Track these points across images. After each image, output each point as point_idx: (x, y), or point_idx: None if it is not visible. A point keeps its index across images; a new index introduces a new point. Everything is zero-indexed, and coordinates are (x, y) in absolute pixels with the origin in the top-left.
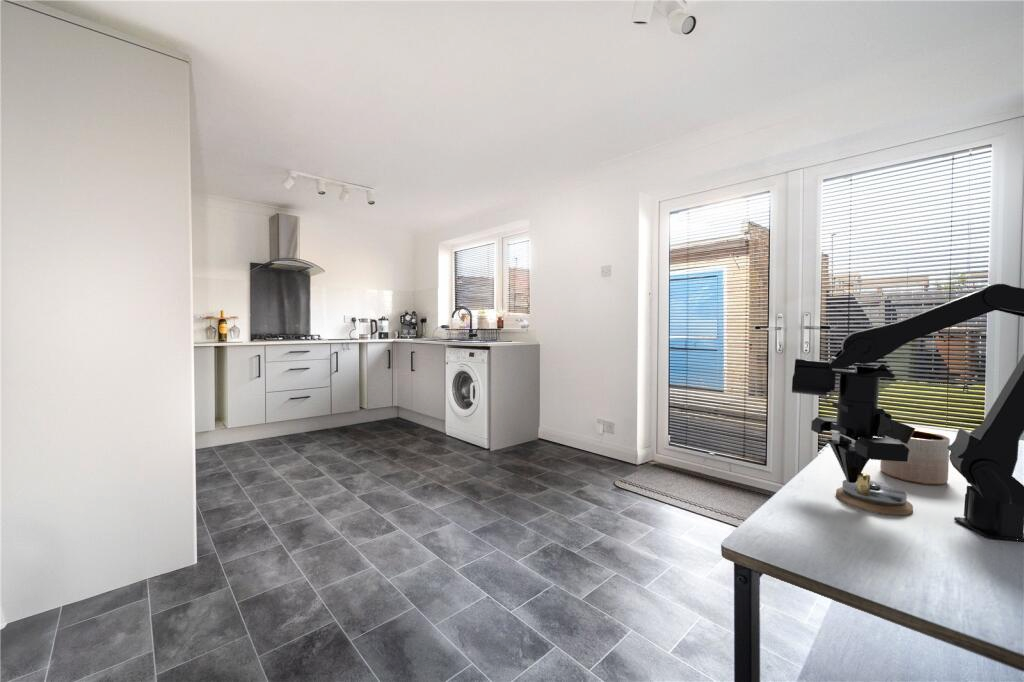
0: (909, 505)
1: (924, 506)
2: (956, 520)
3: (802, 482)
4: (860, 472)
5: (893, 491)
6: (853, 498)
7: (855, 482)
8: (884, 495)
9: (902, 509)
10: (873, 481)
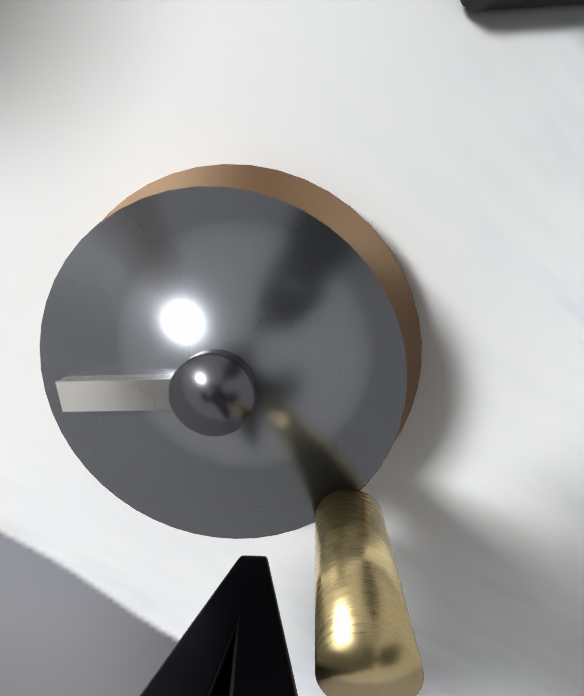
0: (317, 206)
1: (230, 49)
2: (494, 7)
3: (47, 542)
4: (285, 652)
5: (258, 281)
6: None
7: (266, 558)
8: (360, 403)
9: (393, 300)
10: (56, 298)
